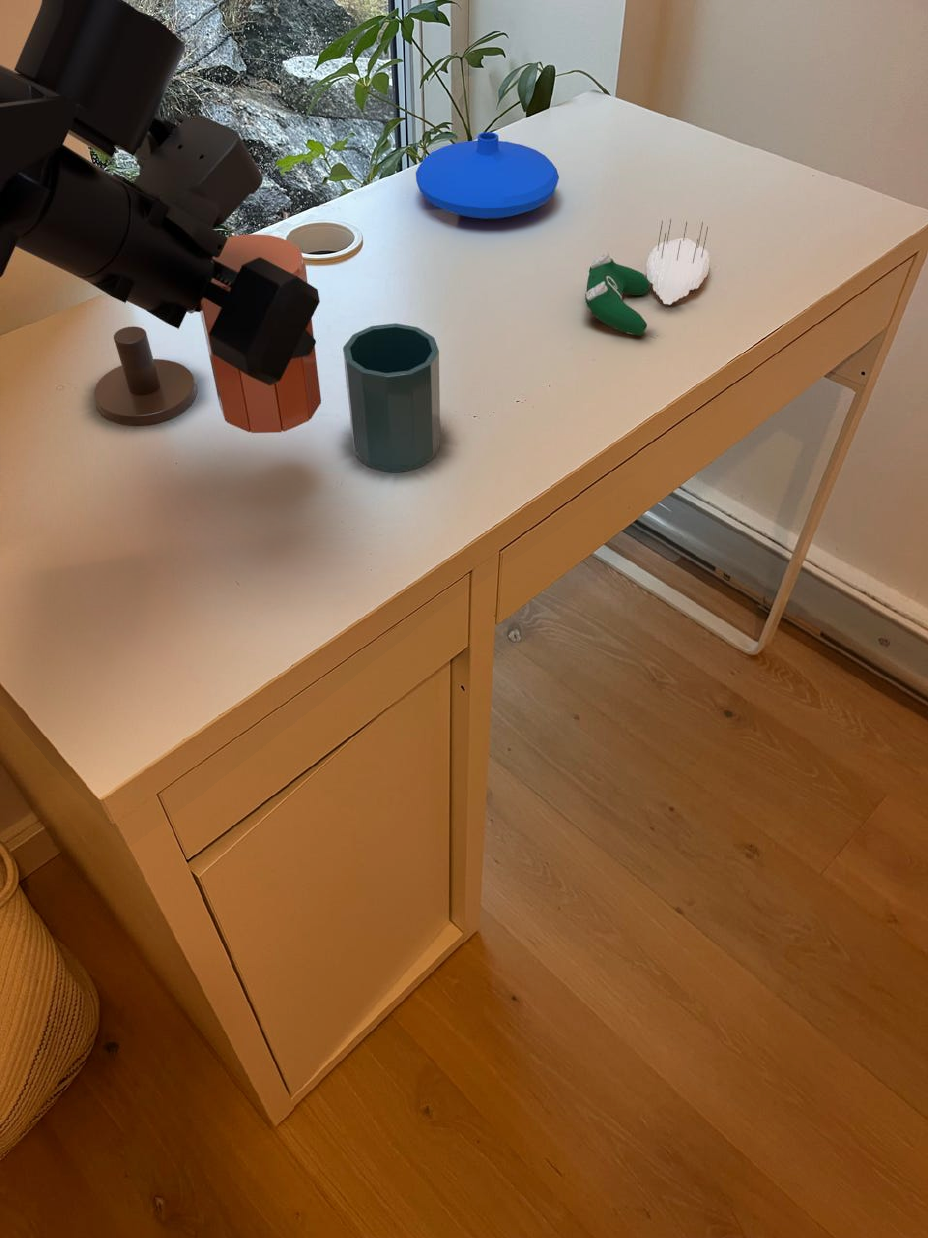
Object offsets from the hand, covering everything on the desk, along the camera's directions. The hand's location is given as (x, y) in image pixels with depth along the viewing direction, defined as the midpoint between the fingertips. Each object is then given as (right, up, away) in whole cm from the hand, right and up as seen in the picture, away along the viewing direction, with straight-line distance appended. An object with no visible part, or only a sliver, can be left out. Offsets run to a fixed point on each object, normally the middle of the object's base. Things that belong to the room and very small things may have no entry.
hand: (275, 327), depth 67 cm
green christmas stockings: (+28, +9, +27) cm, 40 cm away
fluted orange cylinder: (-1, -5, +4) cm, 6 cm away
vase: (+15, +27, +42) cm, 52 cm away
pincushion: (+34, +14, +31) cm, 49 cm away
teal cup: (+7, -6, +13) cm, 16 cm away
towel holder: (-14, -1, +17) cm, 22 cm away
